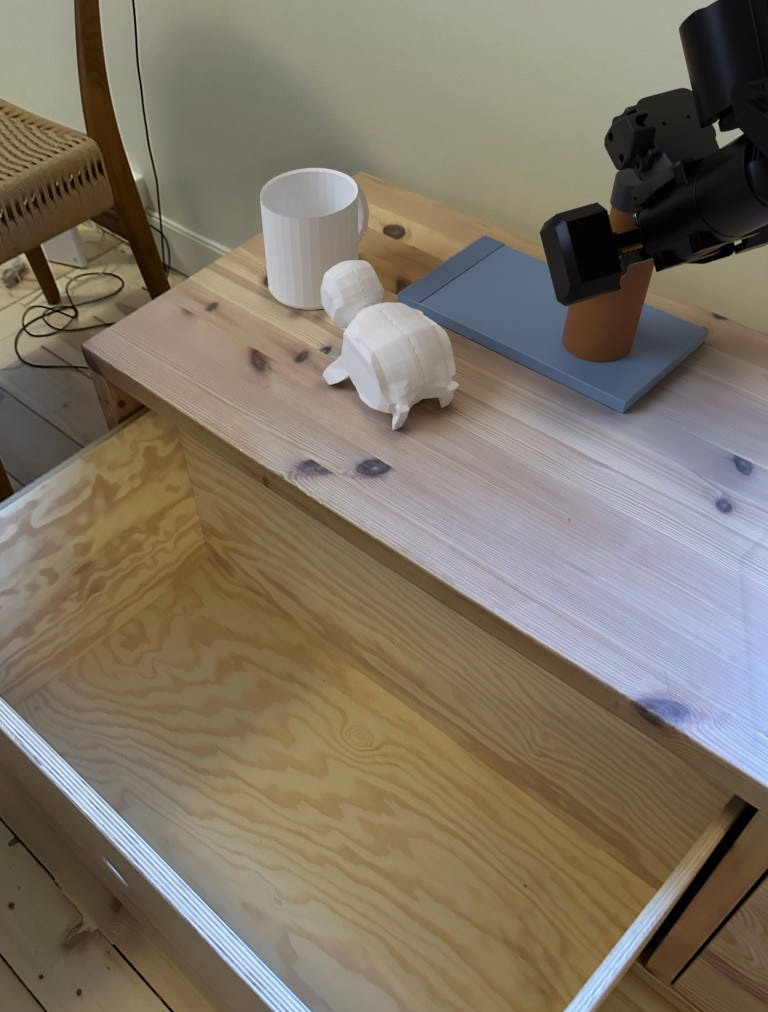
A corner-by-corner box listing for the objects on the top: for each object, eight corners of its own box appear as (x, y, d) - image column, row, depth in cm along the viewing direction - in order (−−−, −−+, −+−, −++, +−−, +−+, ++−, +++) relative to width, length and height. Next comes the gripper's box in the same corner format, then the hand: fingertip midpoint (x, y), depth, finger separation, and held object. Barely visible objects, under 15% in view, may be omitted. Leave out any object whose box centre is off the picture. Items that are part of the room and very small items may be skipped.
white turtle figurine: (451, 418, 81) (365, 291, 84) (481, 362, 73) (385, 224, 76) (372, 455, 79) (287, 324, 82) (395, 402, 71) (299, 258, 74)
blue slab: (705, 341, 80) (709, 328, 79) (622, 414, 75) (626, 401, 74) (481, 246, 92) (483, 234, 91) (397, 304, 87) (397, 291, 86)
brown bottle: (645, 339, 79) (693, 172, 67) (606, 371, 77) (648, 205, 65) (588, 313, 82) (624, 149, 70) (548, 344, 80) (578, 179, 68)
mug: (300, 322, 86) (294, 229, 79) (251, 281, 91) (241, 189, 83) (400, 277, 89) (403, 184, 82) (348, 239, 94) (347, 148, 87)
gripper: (824, 35, 60) (677, 139, 75) (579, 99, 57) (478, 194, 72) (858, 204, 62) (708, 272, 77) (621, 275, 59) (514, 331, 74)
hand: (604, 264), depth 75 cm, fingers closed on brown bottle, 6 cm apart
